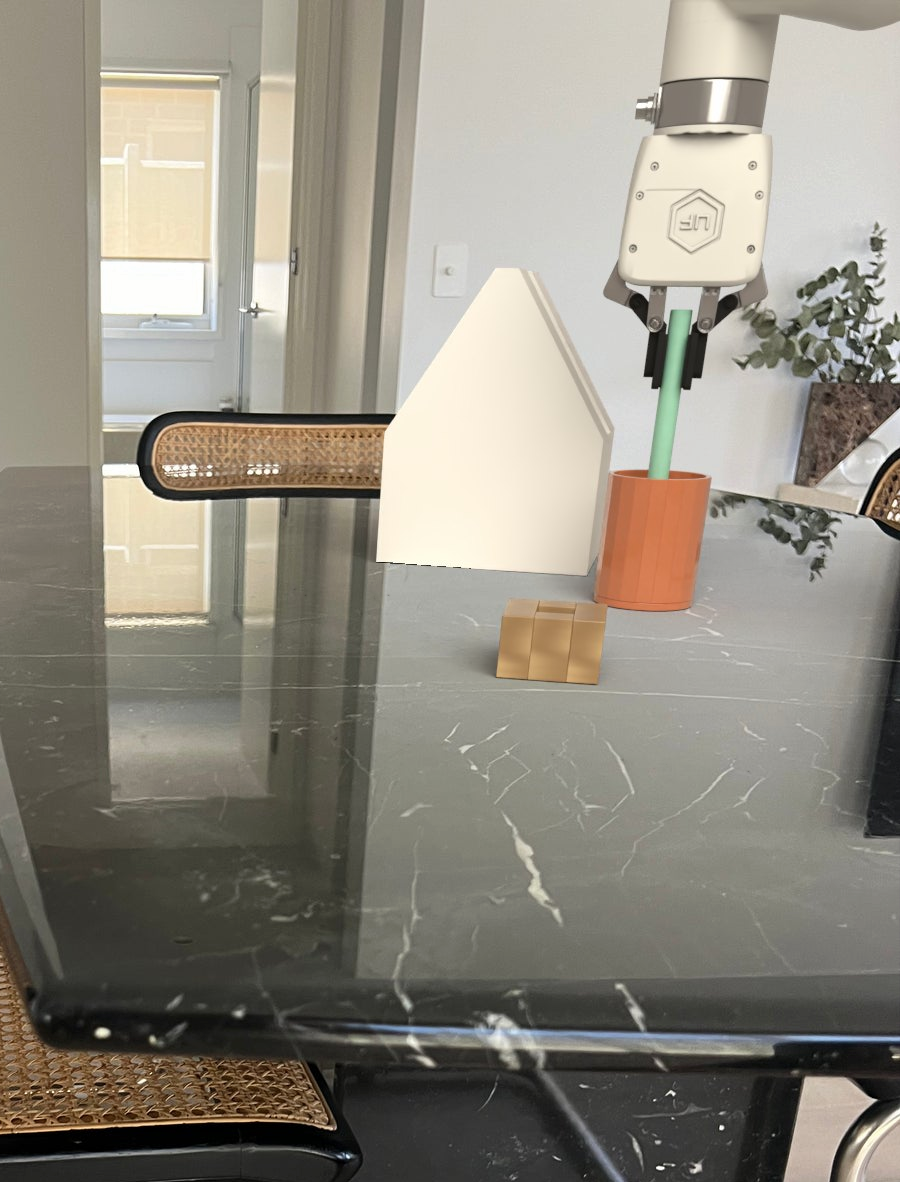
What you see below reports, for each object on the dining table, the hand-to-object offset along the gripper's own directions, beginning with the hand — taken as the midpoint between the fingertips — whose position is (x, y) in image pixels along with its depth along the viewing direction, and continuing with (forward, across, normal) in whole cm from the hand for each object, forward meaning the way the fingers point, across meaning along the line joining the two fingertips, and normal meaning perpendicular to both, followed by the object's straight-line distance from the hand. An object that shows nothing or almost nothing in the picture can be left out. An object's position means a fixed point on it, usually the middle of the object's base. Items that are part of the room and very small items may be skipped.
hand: (670, 387), depth 113 cm
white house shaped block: (+17, -14, +20) cm, 29 cm away
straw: (+9, 0, 0) cm, 9 cm away
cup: (+16, 0, 0) cm, 16 cm away
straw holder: (+16, -6, -28) cm, 33 cm away
